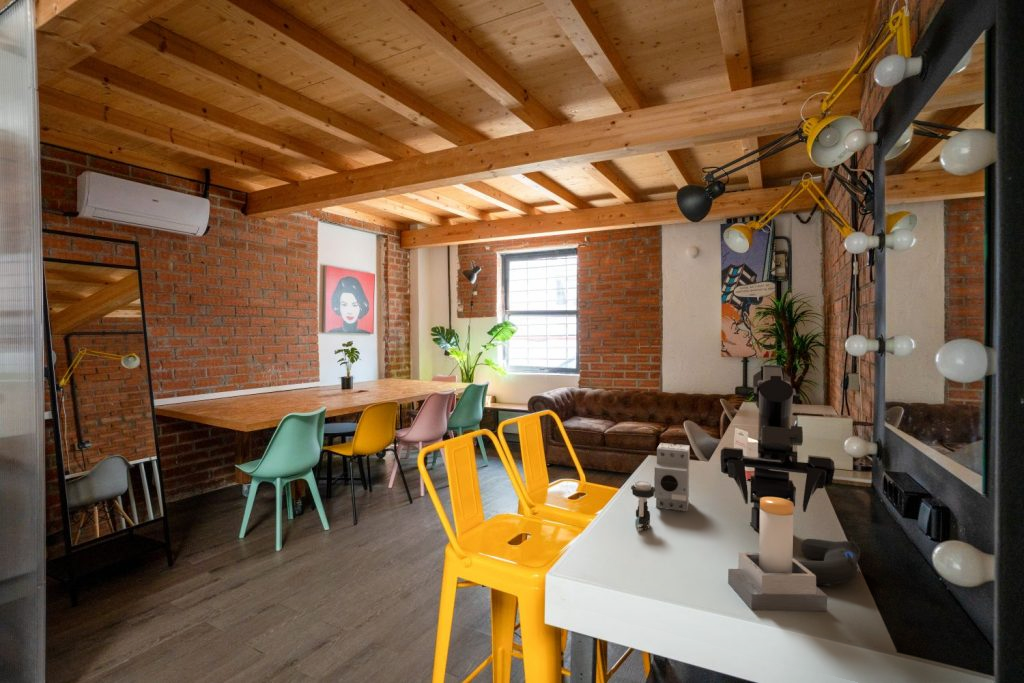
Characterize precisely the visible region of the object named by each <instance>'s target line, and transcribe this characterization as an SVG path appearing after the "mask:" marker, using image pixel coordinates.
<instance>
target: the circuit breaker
mask: <svg viewBox="0 0 1024 683" xmlns="http://www.w3.org/2000/svg"><path fill="white" fill-rule="evenodd" d="M690 447H691V446H690V445H688V444H677V443H676V444H674V443H667V442H665V443H664V442H660V443H659V445H658V446H657V448H656V464H655V466H654V478H653V480H654V483H653V487H654V488H655V492H654V496H653V498H654V499H655V508H658V507H662V508H661V509H665V508H668V509H667V510H673V509H674V510H675V511H680V510H681V511H682V512H688V510H689V509H688V507H689V503H690V499H689V497H690V461H691V460H690V456H691V454H690V451H691V450H690Z"/></svg>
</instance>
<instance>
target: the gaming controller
mask: <svg viewBox="0 0 1024 683" xmlns="http://www.w3.org/2000/svg"><path fill="white" fill-rule="evenodd" d="M849 540H850V541H848V540H844V541H831V540H825V539H817V538H806V539H804V540H803V541H802V542H801V543H800V550H801V552H802V553H803V555H804V556H805V557H807V558H808V559H812V558H813V560H799V561H798V560H797V561H798V562H799V563H800V564H802V565H803V566H804V567H805V568H807V569H808V570H809V571H810V572H812V573H813V574H814V575H815V576H816V586H817V585H818V586H823V585H824V586H827V585H828V586H832V585H837V584H839V583H846V582H850V581H852V580H854V579H856V578H857V577H858V576H859V570H858V569H859V567H858V561H859V560H860V558H861V549H860V547H859V546H858V544H857V543H856V541H855V540H854V539H853V537H852V536H850V537H849ZM816 559H818V560H816ZM823 560H824V561H823Z"/></svg>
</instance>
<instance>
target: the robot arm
mask: <svg viewBox="0 0 1024 683" xmlns="http://www.w3.org/2000/svg"><path fill="white" fill-rule="evenodd" d="M752 397H753V404H755V406H756V407H757V410H758V419H757V421H758V422H757V424H758V425H757V426H758V427H757V430H758V431H757V441H758V457H751V456H743V449H740V448H734V447H729V446H724V447H722V448H721V449H720V471H721V472H722V473H723V474H725V475H727V477H728V478H731V479H733V480H734V481H735V483H736V484H737V486H738V489H739V491H740V493H741V496H742V498H743V501H744V504H745V505H748V504H749V501H750V504H753V506H752V507H751V517H750V518H751V520H750V522H749V524H750V526H751V527H753V528H754V529H755V530H756V531H757V532H759V530H760V498H762V497H778V498H783V499H786V500H789V501H791V502H793V504H794V507H796V496H797V494H796V493H797V487H796V486H795V484H794V483H793V480H792V479H790V473H794V474H795V473H796V474H800V475H801V474H802V475H803V474H804V475H805V484H804V491H803V498H802V500H803V501H802V511H803V513H806V512H807V510H808V508H809V504H810V502H811V499H812V497H813V495H814V494H815V493H816V491H817V489H820V490H822V489H824V487H825V486H828V487H829V486H831V485H833V480H834V475H835V470H836V469H835V468H836V467H835V461H834V460H833V459H832V458H831V457H830V456H829V457H828V456H821V455H812V454H811V455H810V454H808V456H807V462H803V461H792V458H793V455H794V446H802V445H803V443H804V434H803V426H798V425H791V415H792V410H793V407H795V405H797V402H800V395H799V394H798V393H797V391H796V389H795V388H793V387H792V384H791V376H789V375H788V374H787V373H786V372H785V367H784V365H783V366H781V365H779V364H763V365H761V366H760V370H759V371H758V372H756V373H755V374H754V375H753V376H752ZM745 467H752V468H754V476H751V480H750V494H749V490H748V484H747V480H746V474H745ZM749 495H750V496H749ZM749 497H750V500H749Z"/></svg>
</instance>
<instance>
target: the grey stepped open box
mask: <svg viewBox="0 0 1024 683" xmlns="http://www.w3.org/2000/svg"><path fill="white" fill-rule="evenodd" d="M727 571H728V572H727V576H728V577H727V583H728V584H729V586H730V587H731V588H732V589H733V590H734V591H735V593H736V594H737V595H738V596H739V597H740V598H741V600H742V601H743V602H744V603H745V604H746V606H747V607H748V608H749V609H750V610H751V611H786V612H787V611H791V612H792V611H795V612H796V611H797V612H798V611H799V612H801V611H802V612H828V595H827V594H826V593H825V592H824V591H823V590H822V589H821V588H819V587H818V586H817V585H816V576H815V575H814V574H813V573H812V572H810V571H809V570H808V569H807V568H805V567H804V566H803V565H802V564H800V563H799V562H798V560H797V559H795V558H794V557H793V559H792V573H764V572H763V571H762V570H761V569H760V568H759V552H738V568H728V570H727Z"/></svg>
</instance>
